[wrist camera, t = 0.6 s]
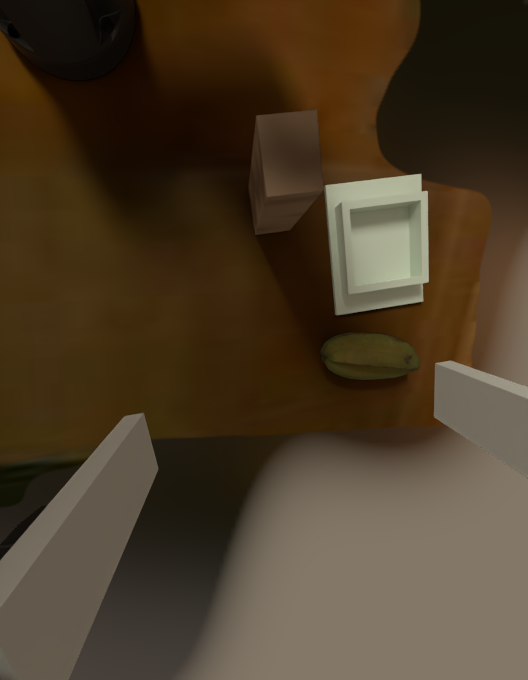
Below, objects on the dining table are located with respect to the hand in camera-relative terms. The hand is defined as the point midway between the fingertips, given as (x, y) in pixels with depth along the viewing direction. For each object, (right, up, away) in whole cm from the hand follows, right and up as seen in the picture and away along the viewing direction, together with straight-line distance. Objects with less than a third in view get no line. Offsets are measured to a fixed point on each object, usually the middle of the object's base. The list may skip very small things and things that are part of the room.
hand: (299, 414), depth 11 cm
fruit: (+13, +1, +29) cm, 32 cm away
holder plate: (+15, +17, +26) cm, 34 cm away
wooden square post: (-1, +21, +23) cm, 32 cm away
